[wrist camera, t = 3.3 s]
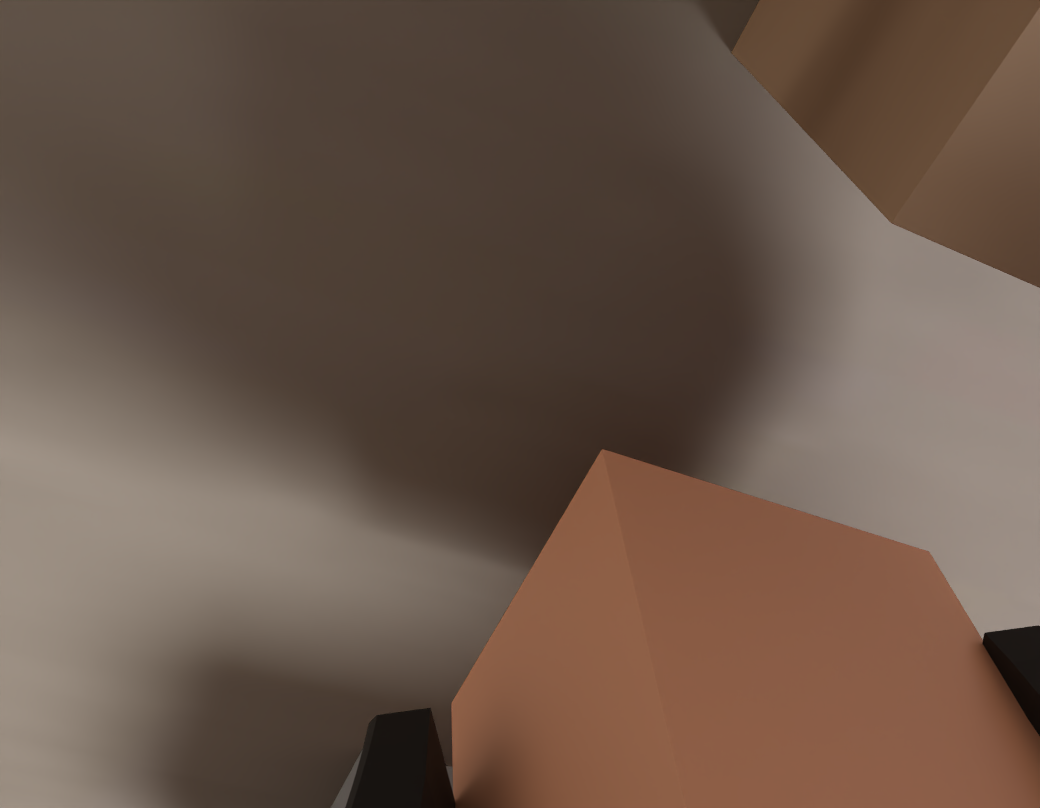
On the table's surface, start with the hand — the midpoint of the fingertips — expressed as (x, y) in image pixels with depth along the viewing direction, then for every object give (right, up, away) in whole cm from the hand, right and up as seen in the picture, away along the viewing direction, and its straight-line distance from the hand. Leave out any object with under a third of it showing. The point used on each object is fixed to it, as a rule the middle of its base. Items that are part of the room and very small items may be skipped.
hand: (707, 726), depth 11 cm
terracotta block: (0, +1, +1) cm, 1 cm away
